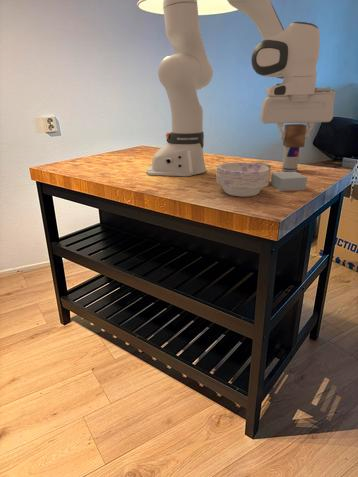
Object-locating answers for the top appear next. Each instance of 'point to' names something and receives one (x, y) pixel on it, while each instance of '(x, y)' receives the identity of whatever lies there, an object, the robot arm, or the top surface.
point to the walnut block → (294, 135)
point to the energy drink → (290, 159)
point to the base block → (288, 181)
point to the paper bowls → (242, 178)
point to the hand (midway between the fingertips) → (293, 138)
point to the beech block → (265, 165)
